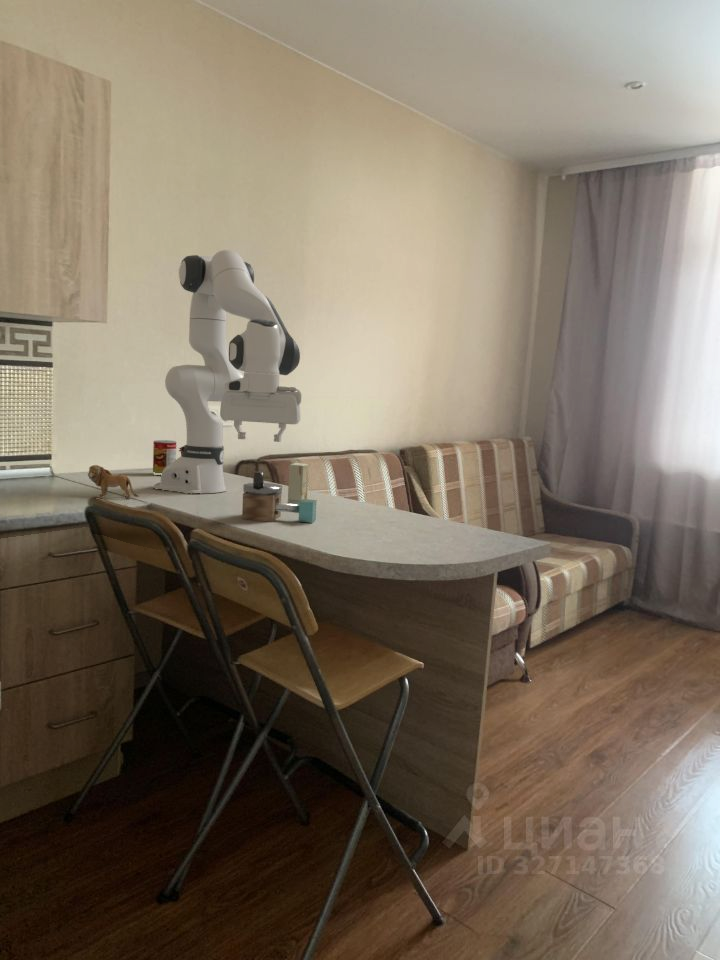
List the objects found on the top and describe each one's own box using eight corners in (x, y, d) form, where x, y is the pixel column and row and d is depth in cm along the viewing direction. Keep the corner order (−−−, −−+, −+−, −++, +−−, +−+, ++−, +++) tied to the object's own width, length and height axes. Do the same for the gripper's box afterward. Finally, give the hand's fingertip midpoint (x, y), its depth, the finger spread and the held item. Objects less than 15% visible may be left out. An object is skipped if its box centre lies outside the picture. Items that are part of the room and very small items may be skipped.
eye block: (242, 519, 188) (243, 493, 187) (251, 513, 195) (252, 489, 195) (272, 521, 186) (273, 495, 185) (280, 516, 194) (281, 491, 193)
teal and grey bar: (241, 516, 190) (242, 496, 189) (246, 513, 194) (247, 494, 193) (312, 522, 187) (313, 502, 186) (315, 519, 191) (316, 500, 190)
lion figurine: (84, 496, 207) (84, 465, 206) (92, 494, 212) (92, 463, 211) (135, 500, 207) (135, 468, 205) (141, 497, 212) (142, 466, 211)
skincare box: (301, 507, 208) (303, 465, 207) (286, 506, 209) (288, 464, 207) (307, 504, 214) (309, 463, 213) (293, 503, 215) (295, 462, 214)
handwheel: (237, 493, 186) (238, 471, 185) (250, 487, 196) (250, 467, 195) (275, 496, 184) (276, 474, 183) (286, 490, 194) (287, 469, 193)
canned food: (161, 472, 264) (161, 439, 262) (180, 474, 262) (180, 441, 260) (148, 474, 257) (148, 441, 255) (167, 476, 254) (168, 442, 253)
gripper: (304, 387, 183) (302, 442, 185) (227, 383, 186) (225, 437, 188) (298, 387, 177) (296, 444, 179) (218, 383, 180) (217, 438, 182)
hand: (259, 440), depth 184 cm, fingers open, 8 cm apart
